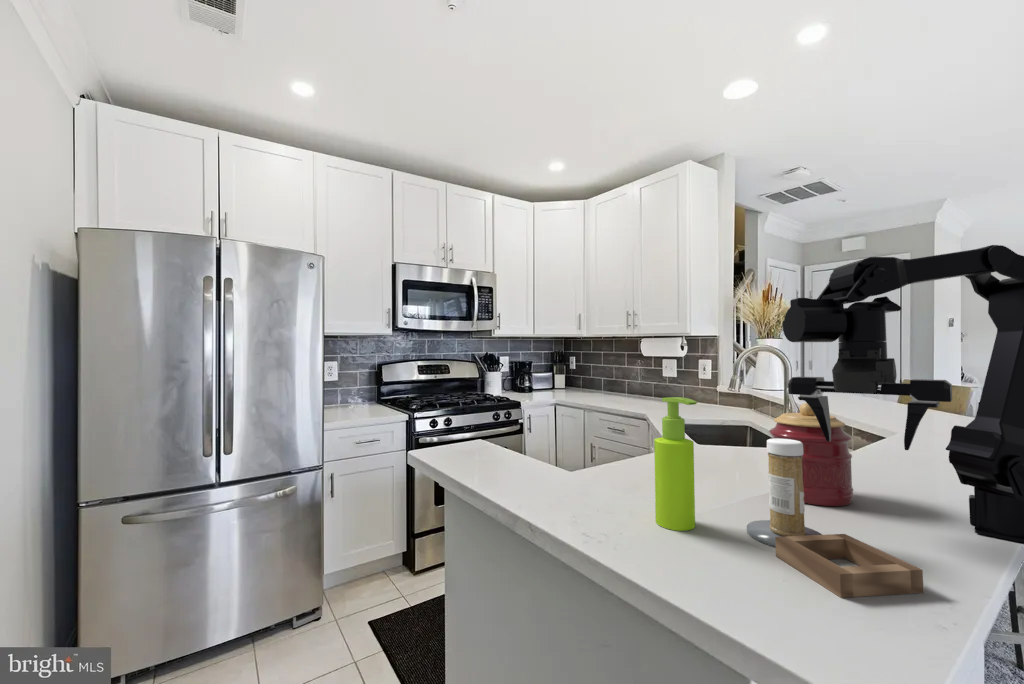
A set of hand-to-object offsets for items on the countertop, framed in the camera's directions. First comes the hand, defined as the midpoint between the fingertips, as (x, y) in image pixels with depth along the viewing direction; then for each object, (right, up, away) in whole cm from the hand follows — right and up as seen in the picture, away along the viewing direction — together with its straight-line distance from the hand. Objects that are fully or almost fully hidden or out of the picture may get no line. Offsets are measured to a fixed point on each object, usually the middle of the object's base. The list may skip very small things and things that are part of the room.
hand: (865, 445), depth 65 cm
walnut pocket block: (-13, -13, -13) cm, 22 cm away
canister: (+3, -14, +17) cm, 22 cm away
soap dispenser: (-27, -13, +3) cm, 31 cm away
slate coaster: (-14, -13, -2) cm, 19 cm away
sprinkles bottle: (-13, -13, -2) cm, 18 cm away
